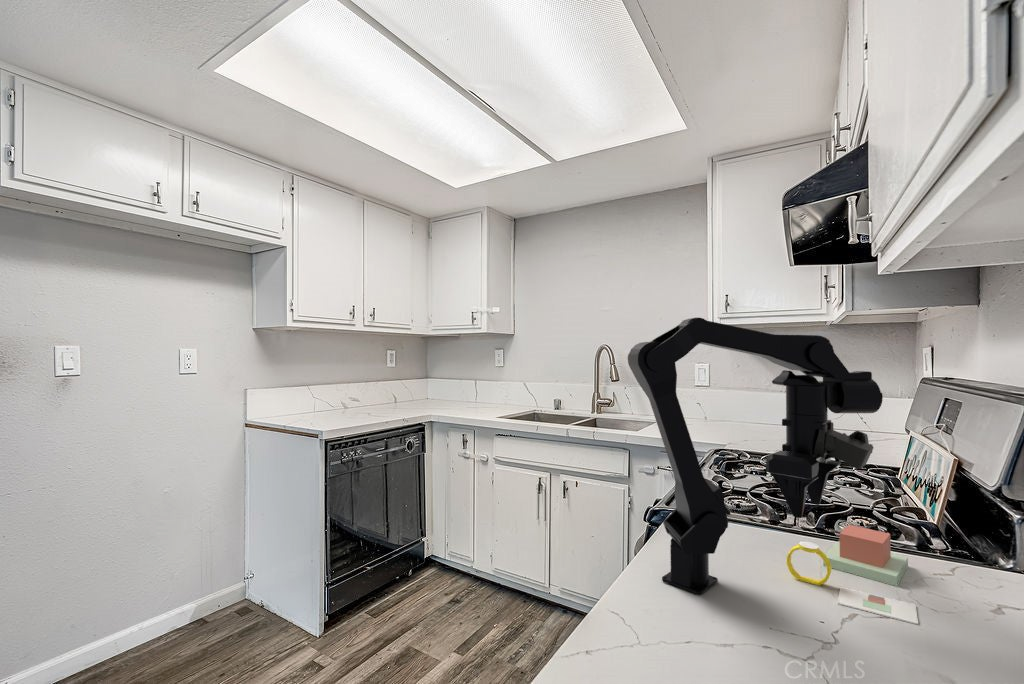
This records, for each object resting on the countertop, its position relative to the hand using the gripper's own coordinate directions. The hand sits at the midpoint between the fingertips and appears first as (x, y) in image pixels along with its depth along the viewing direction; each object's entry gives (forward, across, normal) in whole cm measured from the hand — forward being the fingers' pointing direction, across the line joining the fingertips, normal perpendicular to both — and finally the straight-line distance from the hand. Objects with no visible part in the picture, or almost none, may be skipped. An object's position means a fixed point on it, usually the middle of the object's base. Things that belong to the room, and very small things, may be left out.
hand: (807, 510), depth 78 cm
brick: (+10, +13, -5) cm, 17 cm away
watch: (+12, 0, 0) cm, 12 cm away
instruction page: (+11, -1, -9) cm, 14 cm away
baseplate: (+11, +13, -5) cm, 18 cm away
